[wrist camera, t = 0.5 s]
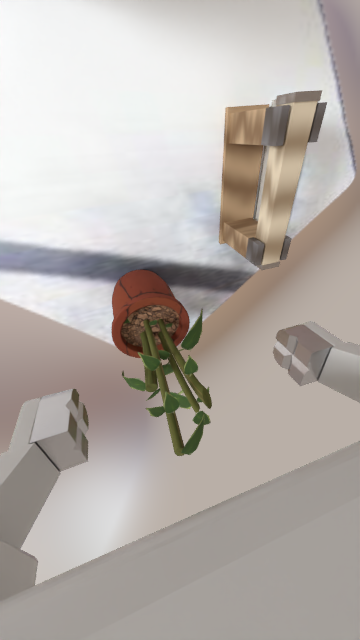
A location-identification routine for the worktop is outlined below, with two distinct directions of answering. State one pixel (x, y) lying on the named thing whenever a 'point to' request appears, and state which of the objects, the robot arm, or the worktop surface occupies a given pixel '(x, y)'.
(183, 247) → the worktop surface
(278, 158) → the rail
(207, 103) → the worktop surface
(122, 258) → the worktop surface
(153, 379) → the potted plant
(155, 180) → the worktop surface
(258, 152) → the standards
